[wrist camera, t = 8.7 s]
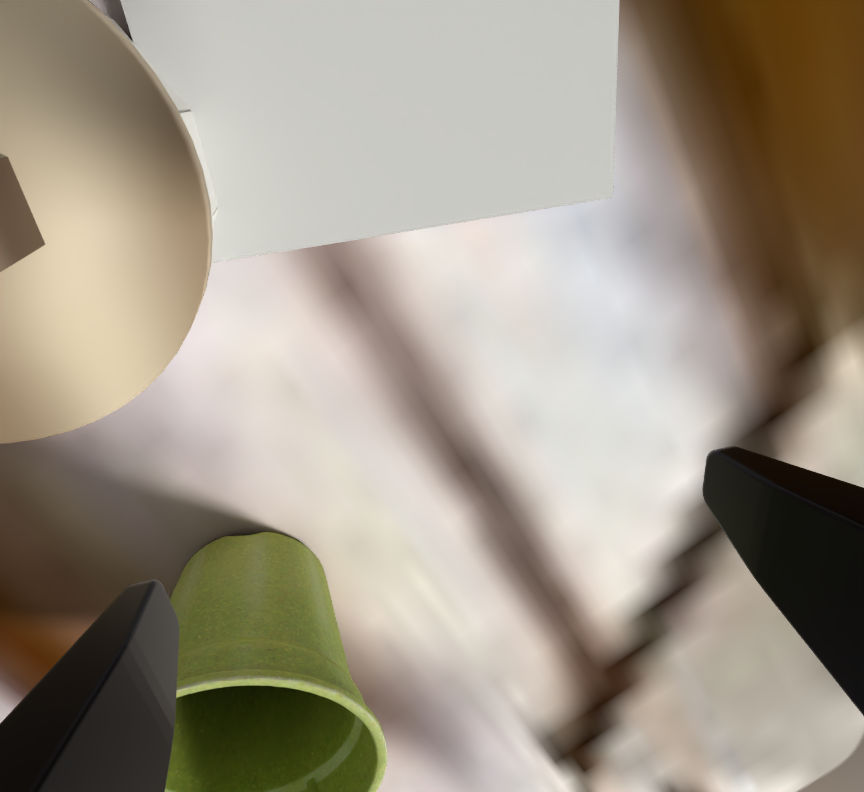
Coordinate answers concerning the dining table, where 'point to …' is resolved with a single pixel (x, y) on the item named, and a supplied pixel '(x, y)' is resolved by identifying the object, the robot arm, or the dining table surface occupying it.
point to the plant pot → (266, 677)
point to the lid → (90, 220)
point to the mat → (387, 110)
